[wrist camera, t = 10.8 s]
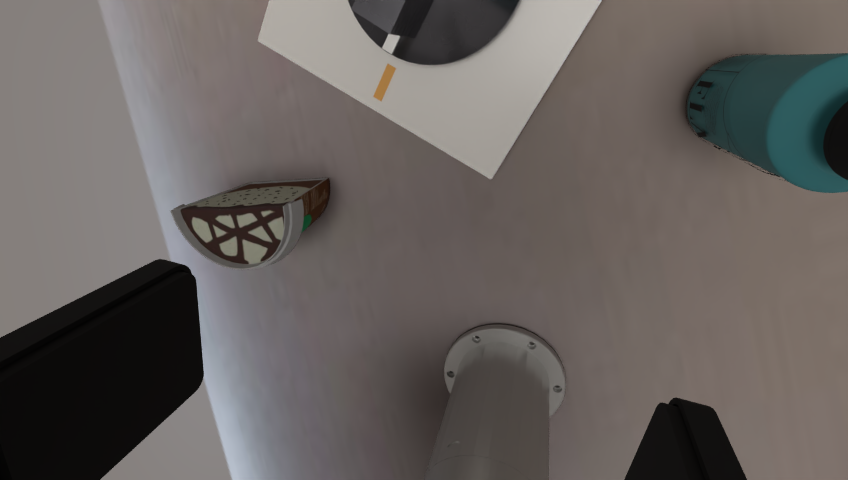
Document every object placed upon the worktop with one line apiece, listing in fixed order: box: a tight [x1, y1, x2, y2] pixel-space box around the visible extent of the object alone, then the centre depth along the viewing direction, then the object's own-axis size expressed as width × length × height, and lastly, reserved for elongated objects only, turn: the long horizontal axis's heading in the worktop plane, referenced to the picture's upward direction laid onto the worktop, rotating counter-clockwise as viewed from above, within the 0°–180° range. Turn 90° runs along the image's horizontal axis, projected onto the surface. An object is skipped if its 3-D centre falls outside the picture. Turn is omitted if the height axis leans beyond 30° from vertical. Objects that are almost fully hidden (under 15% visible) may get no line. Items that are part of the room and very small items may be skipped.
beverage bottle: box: [686, 53, 848, 193], centre depth 25 cm, size 6×7×20 cm
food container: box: [171, 178, 330, 270], centre depth 43 cm, size 12×6×10 cm, turn 97°
